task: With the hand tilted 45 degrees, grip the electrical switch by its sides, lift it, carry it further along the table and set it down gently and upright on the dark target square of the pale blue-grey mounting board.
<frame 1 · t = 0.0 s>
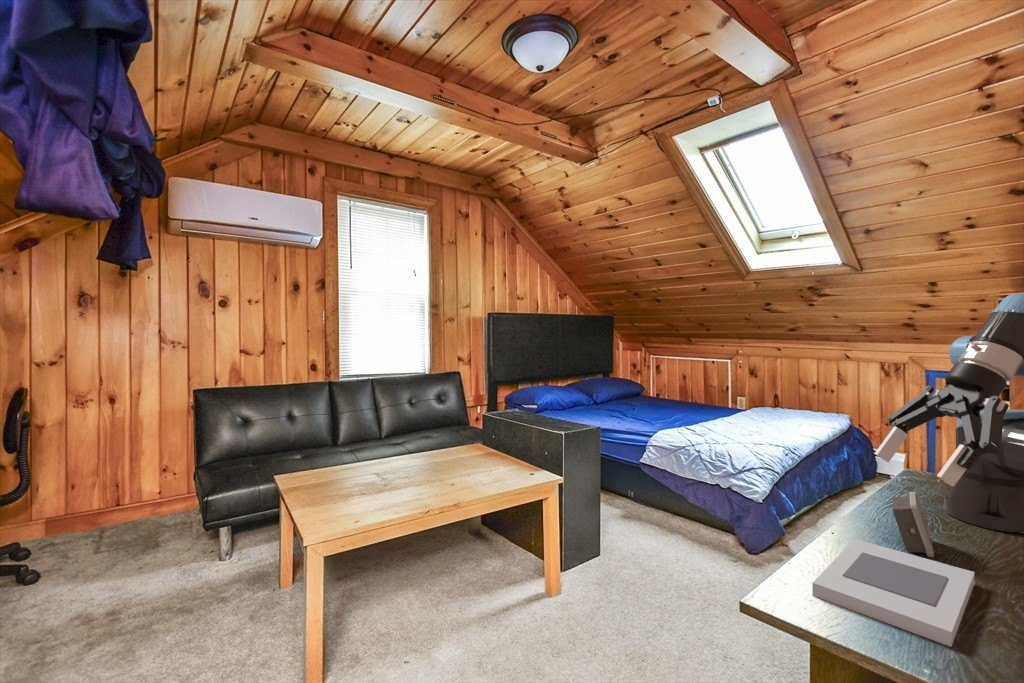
hand: (910, 469, 87), 15 cm above the table, tool tilted 35°, fingers open, 13 cm apart
mounting board: (894, 589, 76), on the table
electrical switch: (913, 547, 90), on the table
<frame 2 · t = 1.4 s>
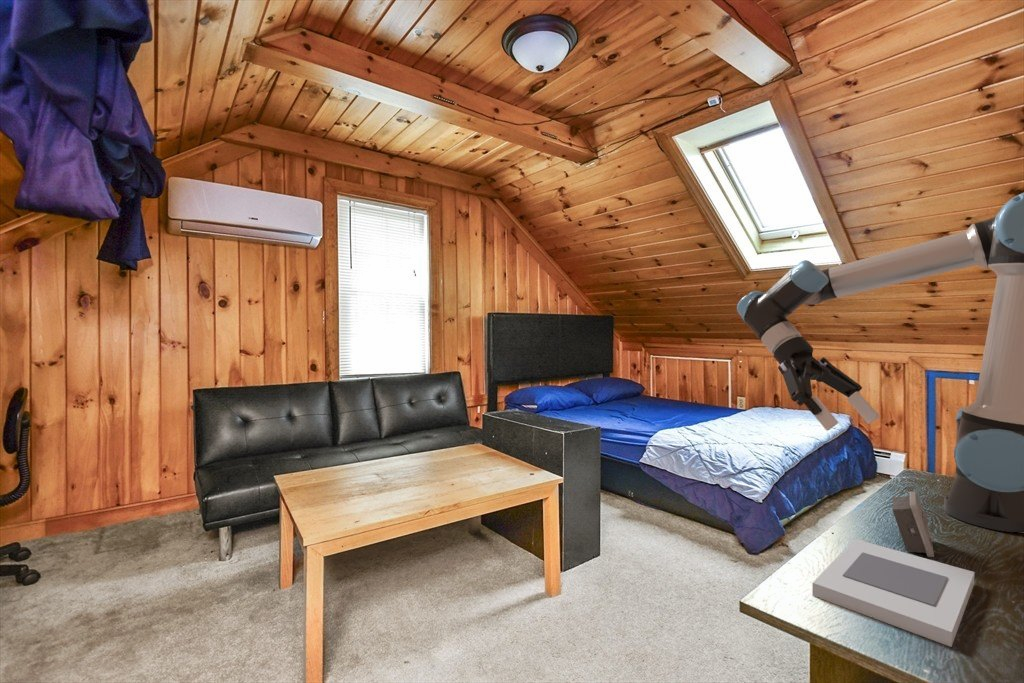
hand: (854, 423, 99), 21 cm above the table, tool tilted 45°, fingers open, 13 cm apart
nothing on the table moved.
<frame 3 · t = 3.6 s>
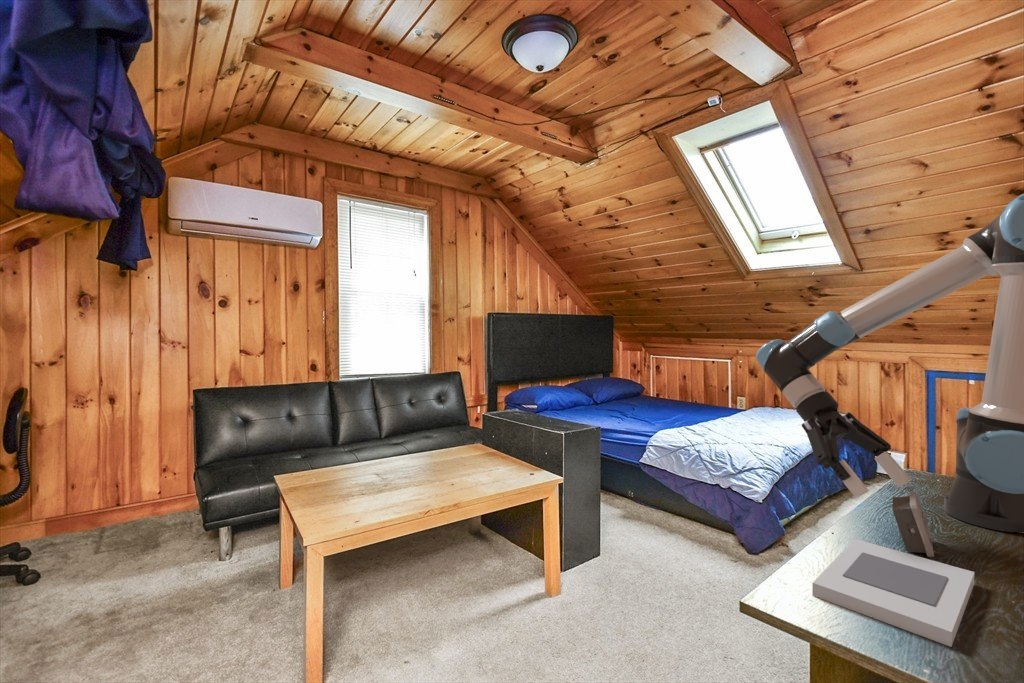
hand: (884, 489, 94), 9 cm above the table, tool tilted 45°, fingers open, 13 cm apart
nothing on the table moved.
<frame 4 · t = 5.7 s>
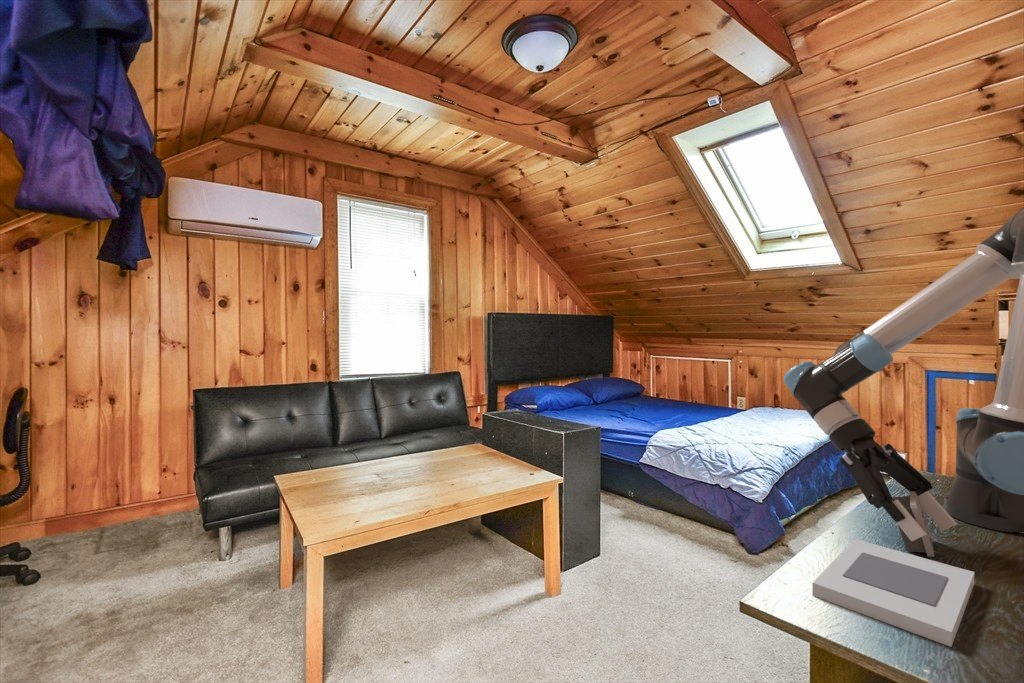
hand: (934, 532, 87), 4 cm above the table, tool tilted 45°, fingers closed on electrical switch, 9 cm apart
electrical switch: (913, 547, 90), on the table, touching gripper
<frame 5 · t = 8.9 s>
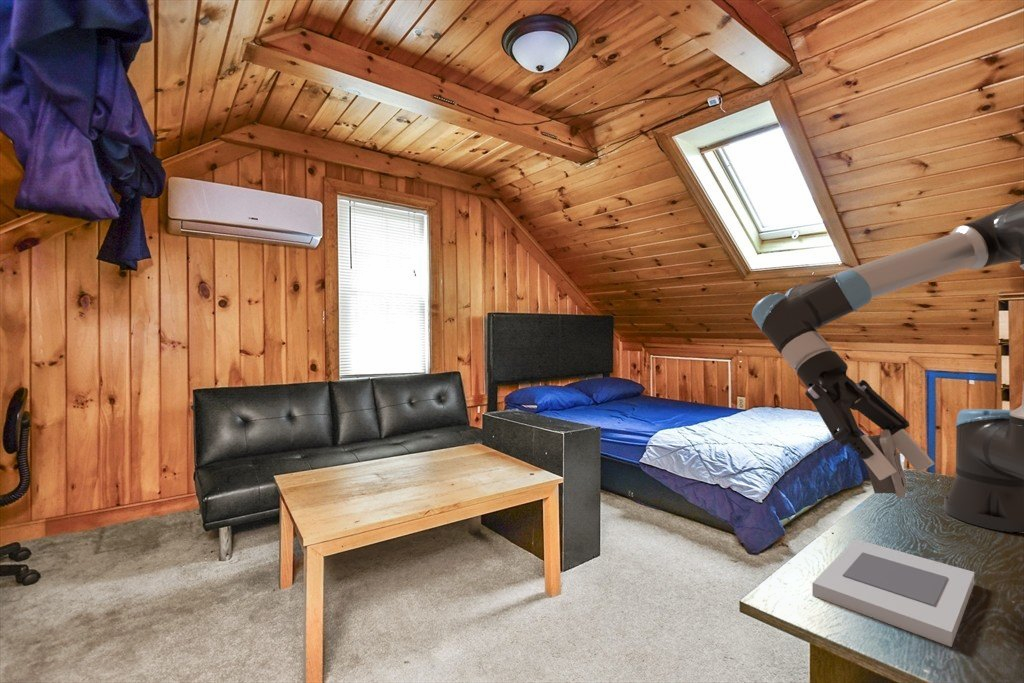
hand: (907, 471, 76), 18 cm above the table, tool tilted 45°, fingers closed on electrical switch, 9 cm apart
electrical switch: (884, 490, 80), point 14 cm above the table, touching gripper
when the fingers open (7 cm above the table, at t = 11.9 s): electrical switch stays where it is, resting on mounting board.
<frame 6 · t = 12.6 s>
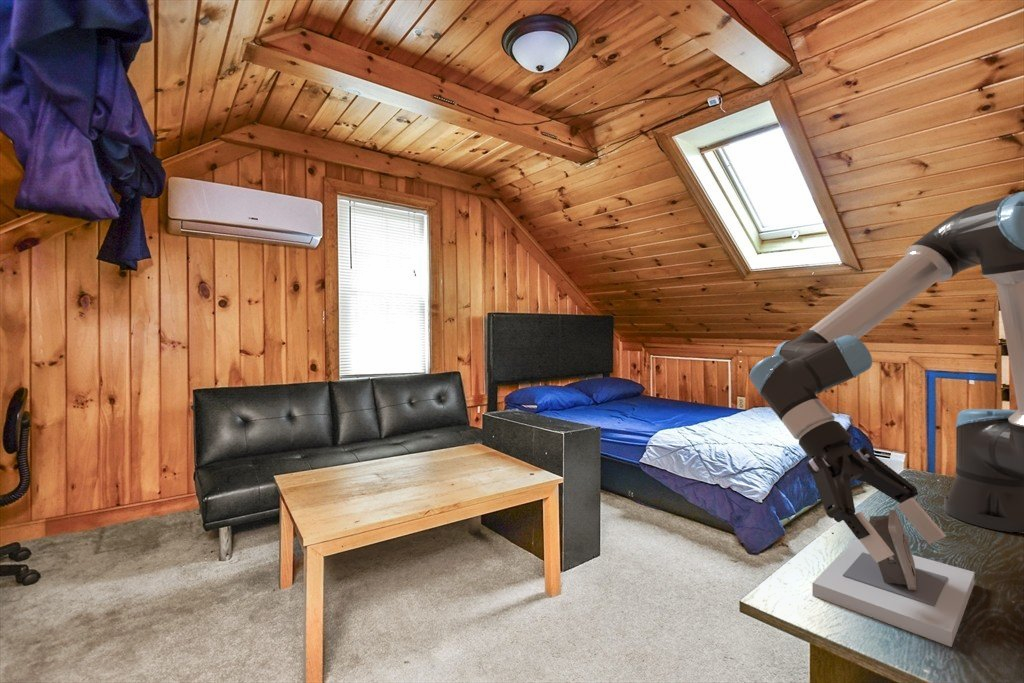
hand: (912, 549, 73), 7 cm above the table, tool tilted 45°, fingers open, 13 cm apart
electrical switch: (893, 576, 76), point 2 cm above the table, touching mounting board
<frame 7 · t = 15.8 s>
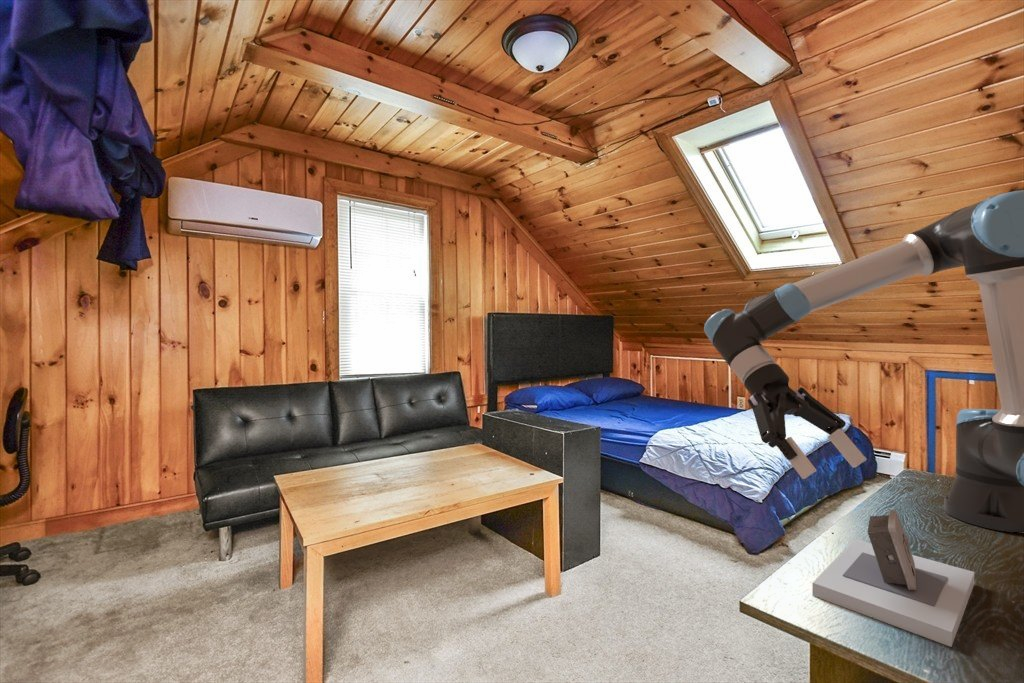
hand: (835, 469, 84), 17 cm above the table, tool tilted 45°, fingers open, 13 cm apart
nothing on the table moved.
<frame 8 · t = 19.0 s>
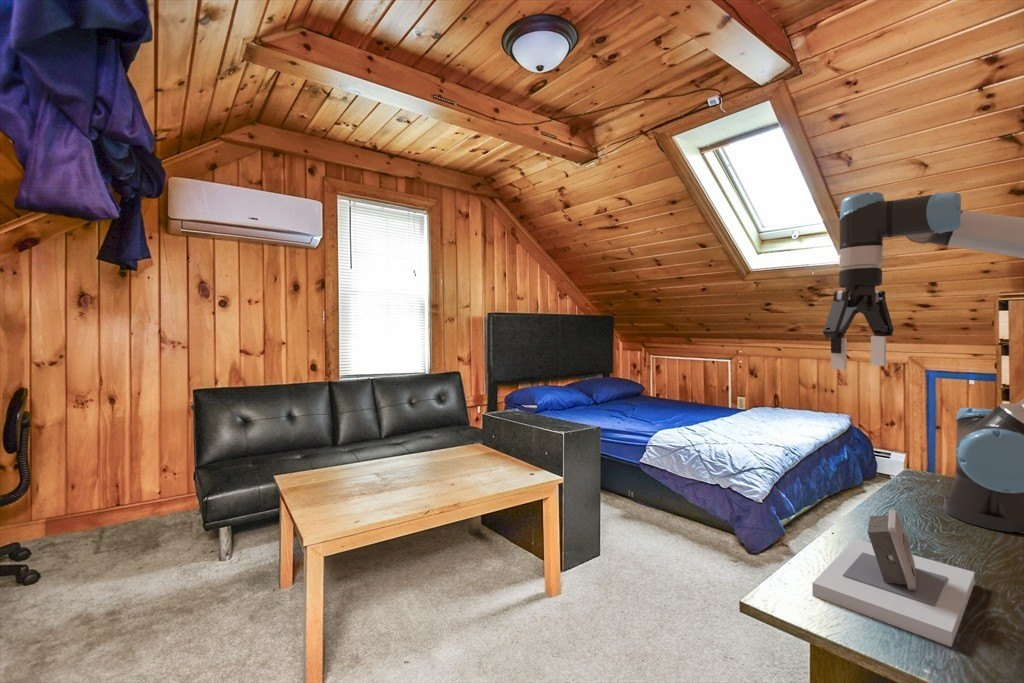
hand: (858, 367, 105), 32 cm above the table, tool pointing down, fingers open, 13 cm apart
nothing on the table moved.
at the end: electrical switch inside the target area on the mounting board (0.2 cm from its centre), point 2.0 cm above the mounting board's base; electrical switch tilted 0°; the gripper is holding nothing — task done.
